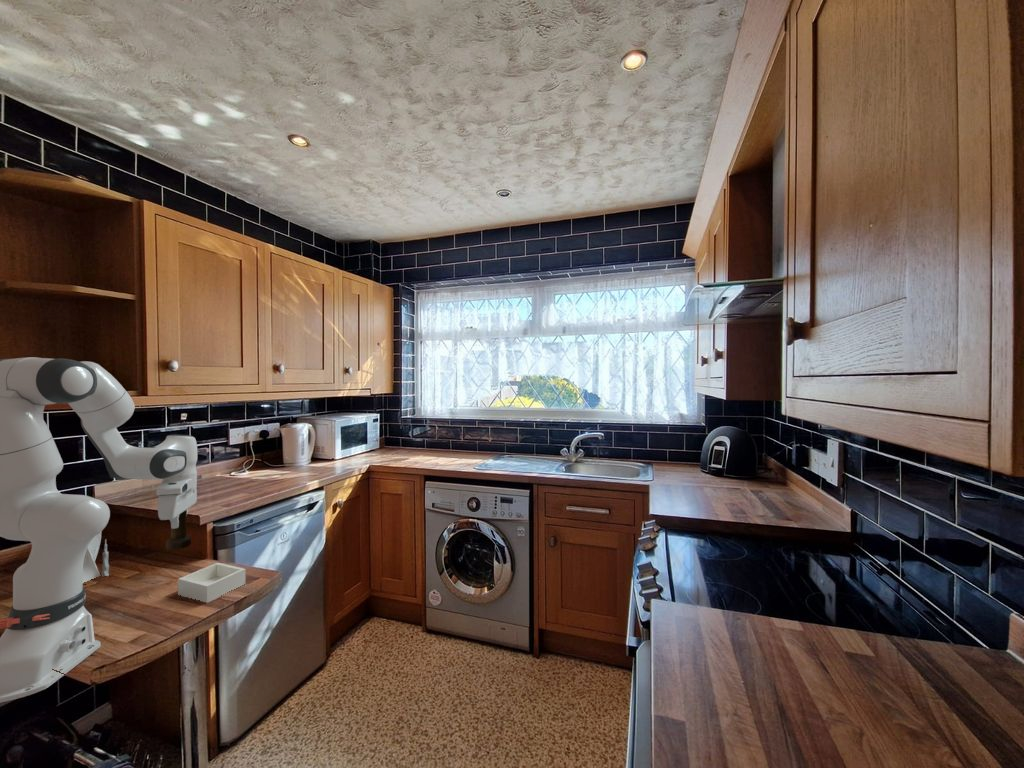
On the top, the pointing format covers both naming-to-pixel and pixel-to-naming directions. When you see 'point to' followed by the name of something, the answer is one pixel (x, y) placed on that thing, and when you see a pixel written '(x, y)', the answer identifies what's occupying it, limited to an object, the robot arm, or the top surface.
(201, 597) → the open rectangular tray
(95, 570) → the skyscraper
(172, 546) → the dark brown tall piece
